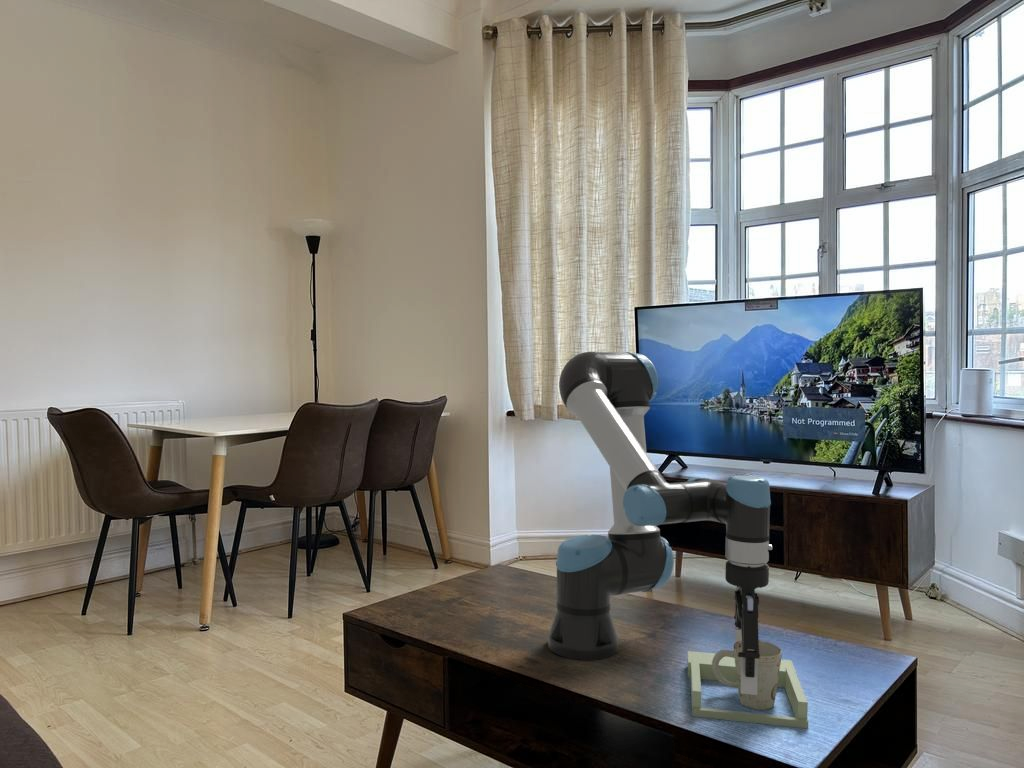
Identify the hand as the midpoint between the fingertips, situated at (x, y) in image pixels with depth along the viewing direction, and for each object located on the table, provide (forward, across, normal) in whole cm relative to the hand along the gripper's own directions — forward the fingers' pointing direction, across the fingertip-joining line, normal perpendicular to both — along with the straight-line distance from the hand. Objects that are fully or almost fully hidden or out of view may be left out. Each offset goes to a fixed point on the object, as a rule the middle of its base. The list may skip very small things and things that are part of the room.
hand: (745, 677), depth 135 cm
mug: (+4, 0, 0) cm, 4 cm away
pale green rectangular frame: (+4, +3, 0) cm, 5 cm away
